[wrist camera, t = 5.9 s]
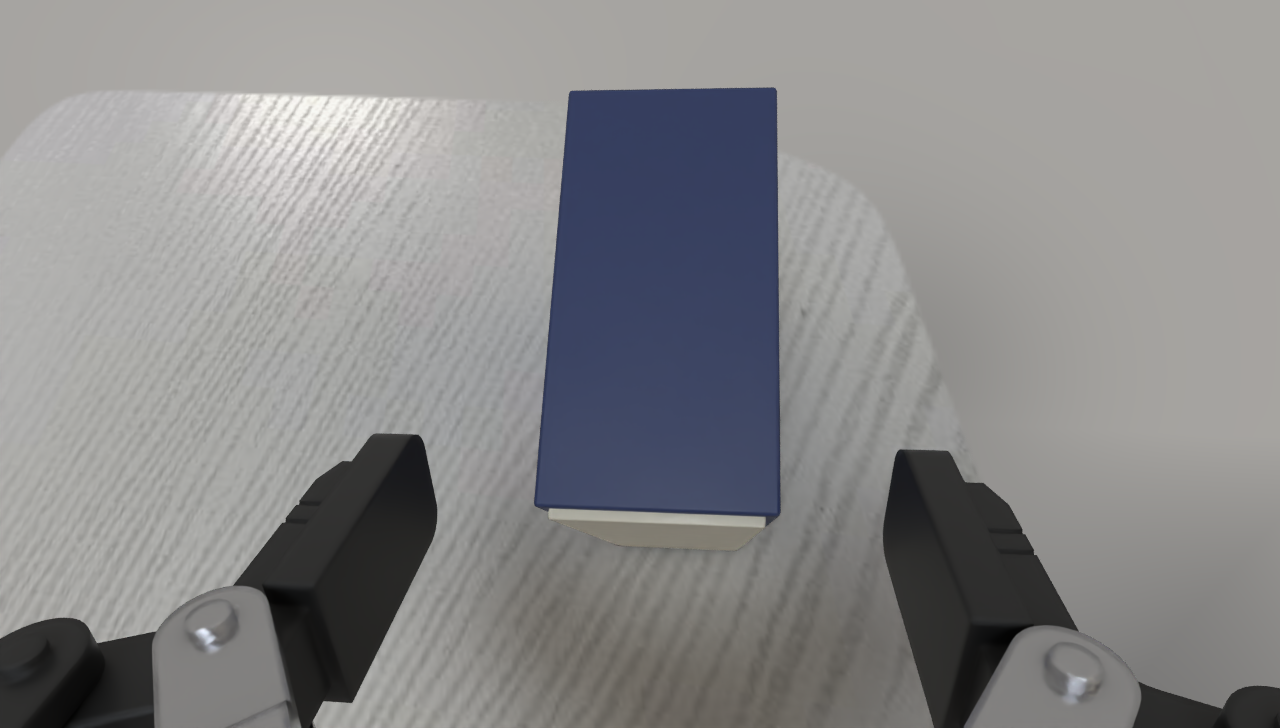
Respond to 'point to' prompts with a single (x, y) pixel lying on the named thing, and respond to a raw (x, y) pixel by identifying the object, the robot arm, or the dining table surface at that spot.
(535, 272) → the dining table surface
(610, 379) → the navy rectangular block
